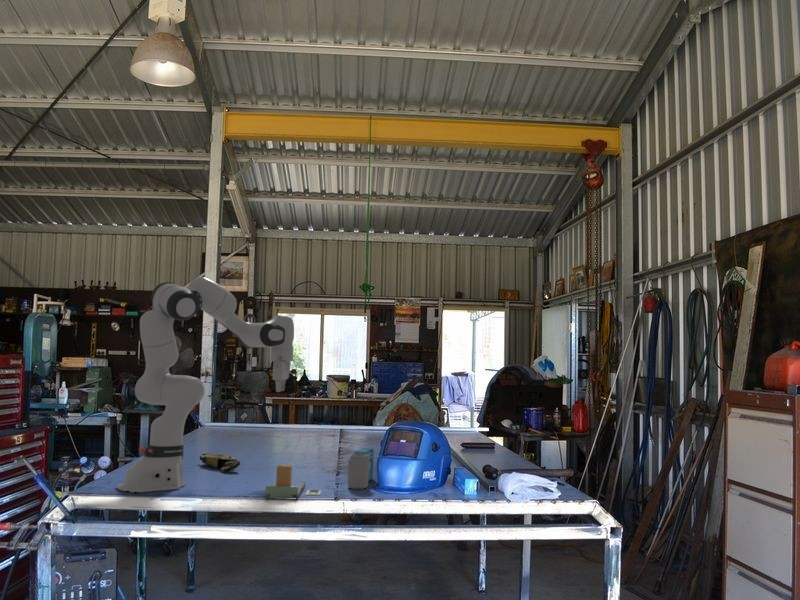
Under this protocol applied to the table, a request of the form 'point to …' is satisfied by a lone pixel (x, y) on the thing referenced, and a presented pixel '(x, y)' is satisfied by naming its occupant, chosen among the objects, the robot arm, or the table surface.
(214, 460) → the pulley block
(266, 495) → the switch channel
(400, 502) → the table surface
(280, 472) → the orange brown box
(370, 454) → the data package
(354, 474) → the can
